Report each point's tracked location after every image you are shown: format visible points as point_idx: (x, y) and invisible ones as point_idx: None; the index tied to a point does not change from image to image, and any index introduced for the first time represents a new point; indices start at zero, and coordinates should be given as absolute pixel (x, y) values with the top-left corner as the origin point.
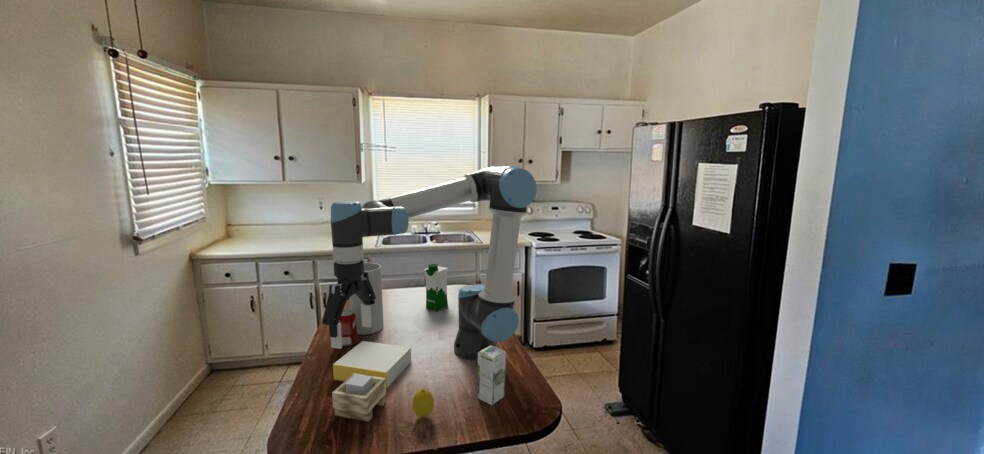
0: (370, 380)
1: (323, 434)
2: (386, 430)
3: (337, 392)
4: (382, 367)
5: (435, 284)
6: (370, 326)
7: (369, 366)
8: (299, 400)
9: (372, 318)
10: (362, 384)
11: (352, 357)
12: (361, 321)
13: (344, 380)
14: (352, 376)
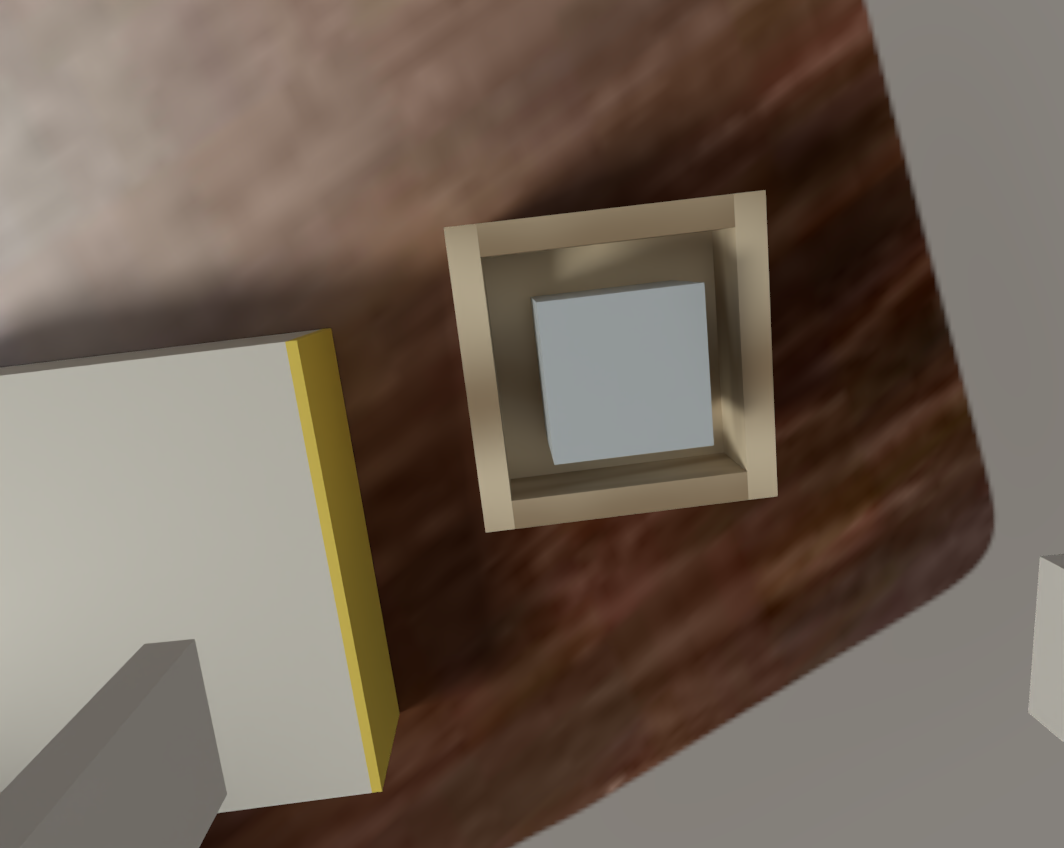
0: (571, 297)
1: (869, 384)
2: (727, 38)
3: (762, 460)
4: (242, 421)
5: None
6: (178, 649)
7: (280, 528)
8: (656, 729)
9: None
10: (678, 302)
11: (229, 736)
12: None
13: (385, 644)
14: (531, 509)
